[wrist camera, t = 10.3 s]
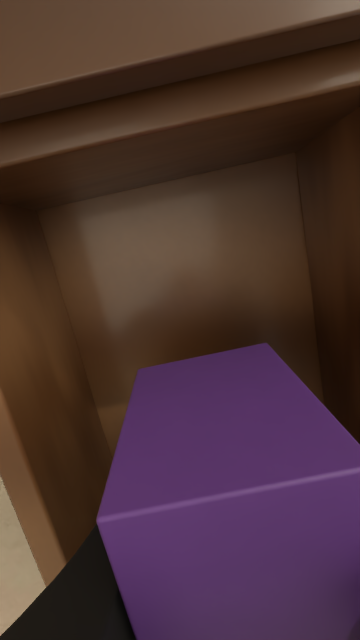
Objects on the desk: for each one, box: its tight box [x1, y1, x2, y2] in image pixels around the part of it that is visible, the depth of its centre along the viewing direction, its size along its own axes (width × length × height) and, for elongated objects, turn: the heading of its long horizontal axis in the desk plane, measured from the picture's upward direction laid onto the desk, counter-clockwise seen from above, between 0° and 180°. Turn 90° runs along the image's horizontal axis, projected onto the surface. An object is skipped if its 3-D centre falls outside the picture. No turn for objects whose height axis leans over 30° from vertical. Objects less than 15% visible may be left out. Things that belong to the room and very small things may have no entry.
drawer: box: [0, 39, 360, 587], centre depth 12 cm, size 21×12×7 cm, turn 12°
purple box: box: [96, 343, 360, 640], centre depth 8 cm, size 4×8×6 cm, turn 12°
